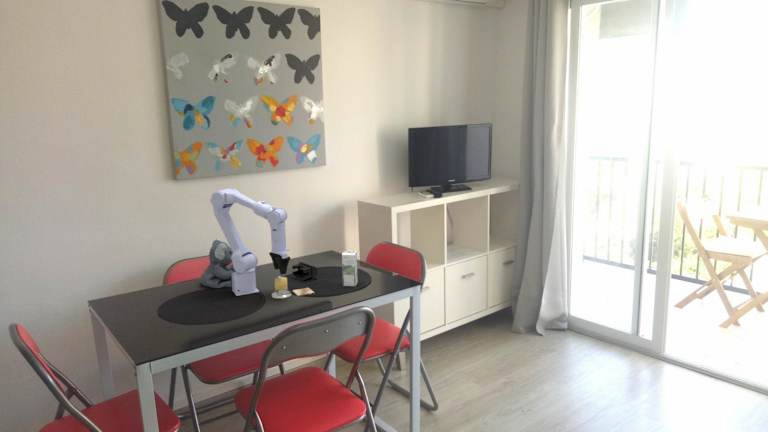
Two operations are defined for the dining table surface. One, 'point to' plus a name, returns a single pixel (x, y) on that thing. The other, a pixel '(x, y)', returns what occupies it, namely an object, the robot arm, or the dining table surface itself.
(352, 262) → the syrup box
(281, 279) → the yellow cube
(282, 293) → the grey lumpy disc
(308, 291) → the pad
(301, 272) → the black open frame block
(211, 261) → the koala plush
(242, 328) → the dining table surface
